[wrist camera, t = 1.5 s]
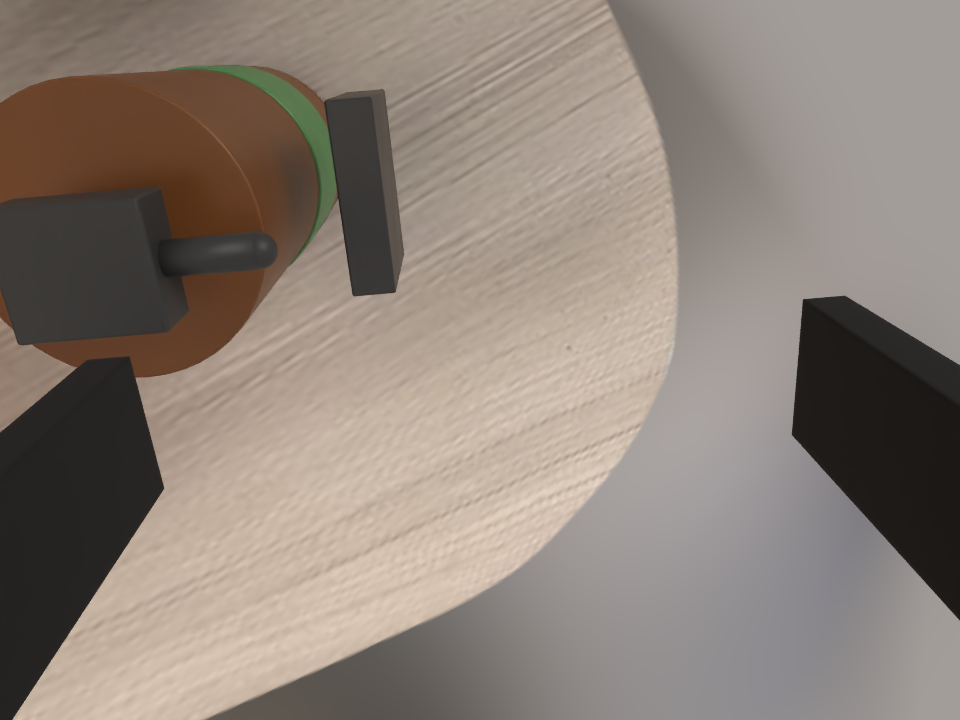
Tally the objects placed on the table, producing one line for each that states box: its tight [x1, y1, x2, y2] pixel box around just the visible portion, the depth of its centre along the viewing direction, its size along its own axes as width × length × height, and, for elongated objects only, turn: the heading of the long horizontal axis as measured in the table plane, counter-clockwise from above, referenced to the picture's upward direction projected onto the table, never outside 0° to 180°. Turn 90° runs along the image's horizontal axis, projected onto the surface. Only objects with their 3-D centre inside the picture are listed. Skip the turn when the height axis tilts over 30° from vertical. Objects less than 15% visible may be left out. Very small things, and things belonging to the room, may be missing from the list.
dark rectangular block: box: [324, 89, 404, 296], centre depth 26 cm, size 1×6×5 cm, turn 5°
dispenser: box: [0, 65, 338, 377], centre depth 28 cm, size 10×9×22 cm
